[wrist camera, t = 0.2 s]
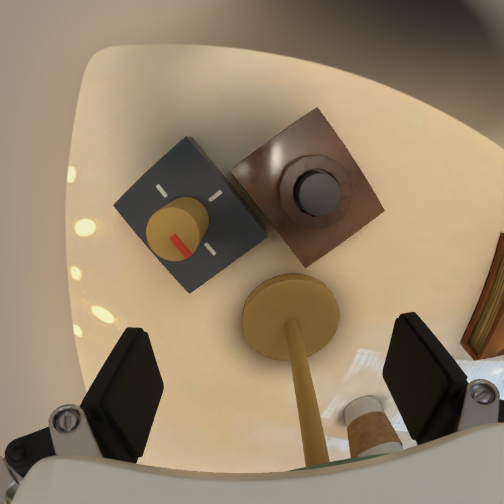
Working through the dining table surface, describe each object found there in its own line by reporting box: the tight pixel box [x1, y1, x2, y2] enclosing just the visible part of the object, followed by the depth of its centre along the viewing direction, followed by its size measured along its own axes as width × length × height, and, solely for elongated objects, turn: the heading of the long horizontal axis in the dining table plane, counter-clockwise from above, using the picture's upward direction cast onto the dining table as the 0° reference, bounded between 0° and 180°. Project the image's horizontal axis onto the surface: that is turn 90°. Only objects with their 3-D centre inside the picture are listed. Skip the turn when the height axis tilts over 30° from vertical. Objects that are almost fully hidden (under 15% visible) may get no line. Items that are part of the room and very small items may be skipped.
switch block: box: [230, 108, 385, 268], centre depth 26 cm, size 12×10×4 cm
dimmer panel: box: [113, 136, 267, 294], centre depth 28 cm, size 12×10×3 cm
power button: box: [296, 172, 341, 216], centre depth 24 cm, size 4×4×2 cm
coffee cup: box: [344, 396, 403, 458], centre depth 32 cm, size 8×8×15 cm
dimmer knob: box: [146, 197, 209, 261], centre depth 24 cm, size 4×4×5 cm
